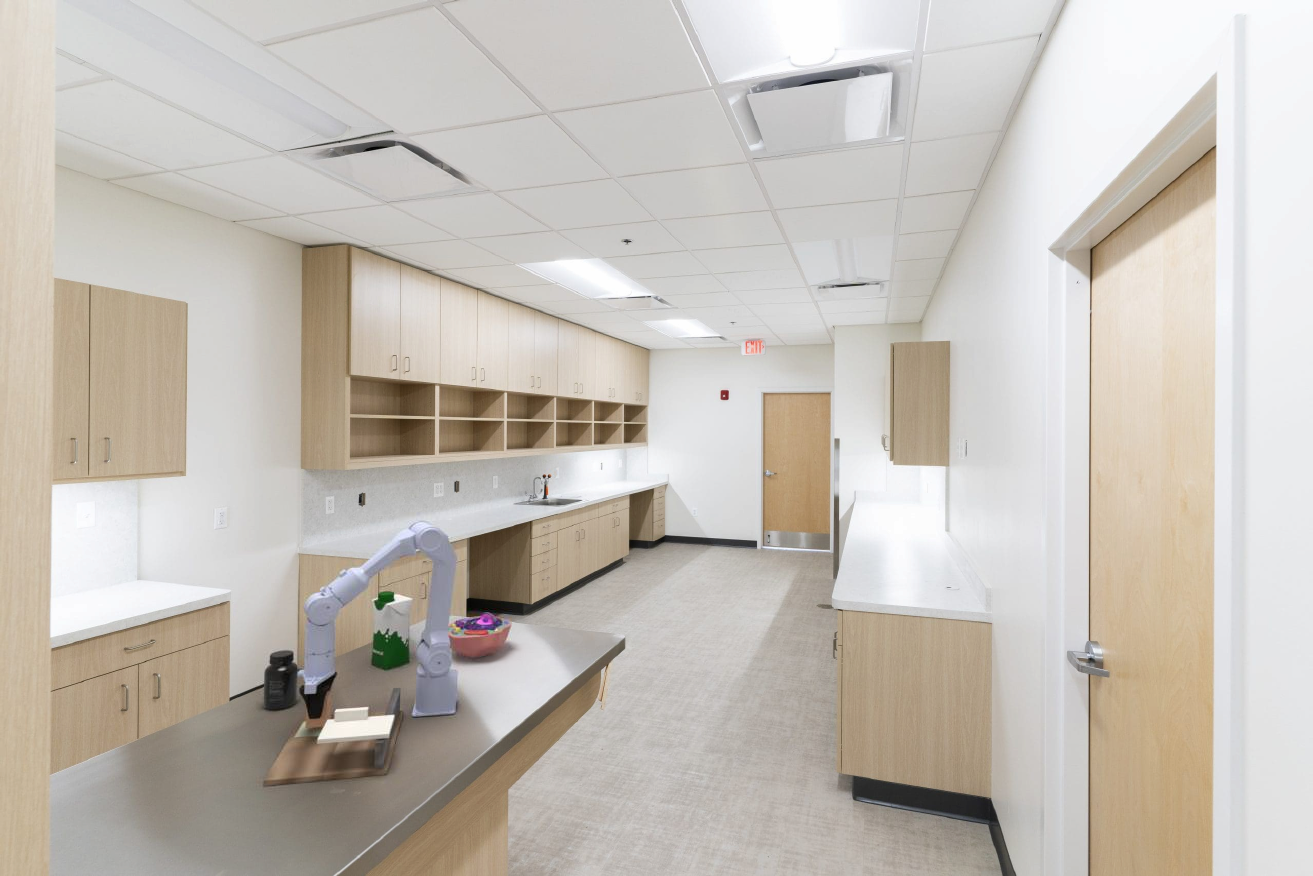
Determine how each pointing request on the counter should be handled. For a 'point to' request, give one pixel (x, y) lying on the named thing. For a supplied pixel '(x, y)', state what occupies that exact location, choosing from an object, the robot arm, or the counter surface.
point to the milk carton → (391, 630)
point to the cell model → (478, 635)
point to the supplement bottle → (280, 681)
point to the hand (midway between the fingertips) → (317, 713)
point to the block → (325, 713)
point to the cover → (355, 726)
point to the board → (334, 753)
